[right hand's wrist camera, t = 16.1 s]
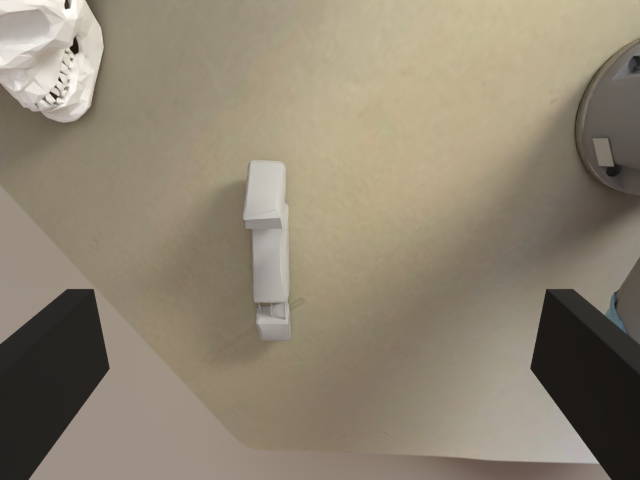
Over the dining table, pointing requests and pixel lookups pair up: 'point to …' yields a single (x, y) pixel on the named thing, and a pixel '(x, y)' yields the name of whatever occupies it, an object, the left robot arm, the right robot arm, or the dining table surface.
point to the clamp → (269, 246)
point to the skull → (50, 55)
